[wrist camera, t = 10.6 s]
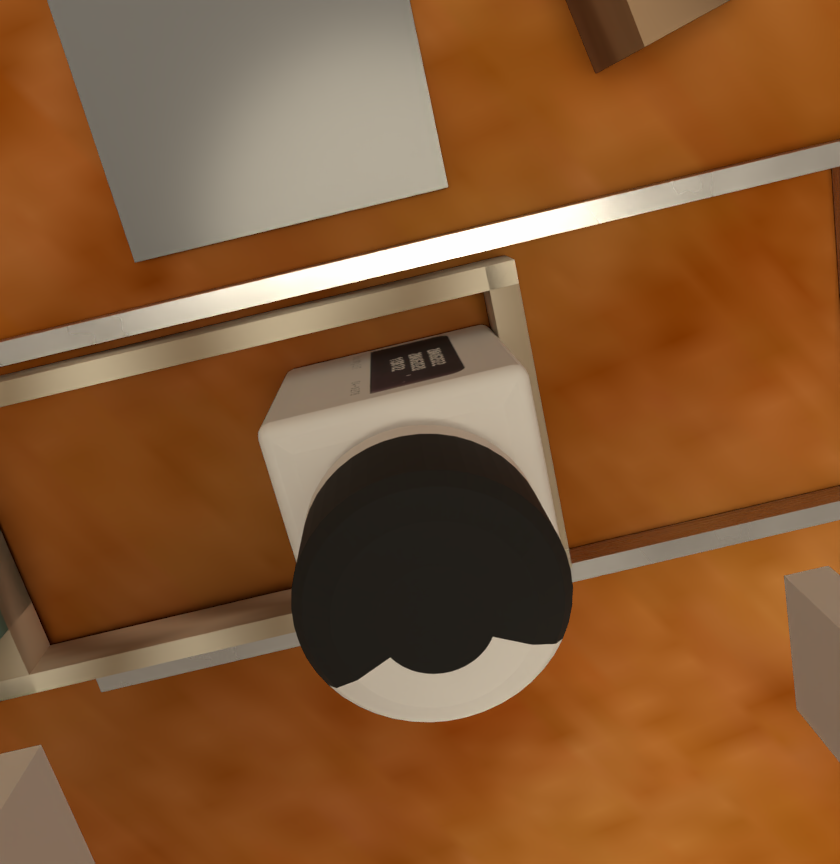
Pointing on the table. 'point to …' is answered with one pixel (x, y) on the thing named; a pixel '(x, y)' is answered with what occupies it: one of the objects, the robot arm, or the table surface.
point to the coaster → (249, 112)
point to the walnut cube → (630, 24)
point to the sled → (260, 616)
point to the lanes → (453, 245)
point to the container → (419, 525)
